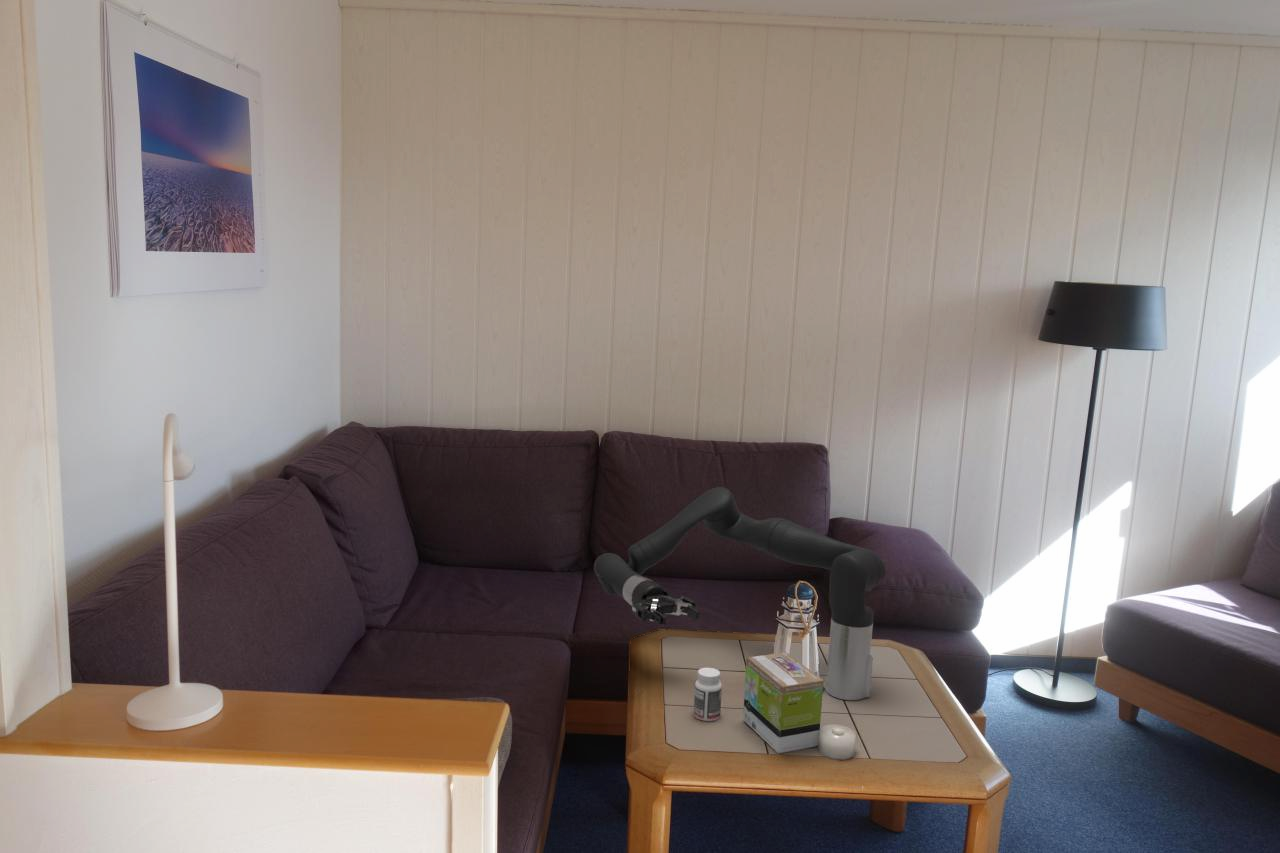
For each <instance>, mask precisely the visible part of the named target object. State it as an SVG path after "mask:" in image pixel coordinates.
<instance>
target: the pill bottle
mask: <svg viewBox="0 0 1280 853" xmlns="http://www.w3.org/2000/svg"><path fill="white" fill-rule="evenodd" d="M697 678H698V679H697V680H696V681H695V684H694V698H693V699H694V700H693V702H694V704H693V715H694V717H695V718H696V719H698V720H699V721H703V722H704V721H705V722H713V721H717V720H718V719H719V718H721V711H722V710H721V708H722V690H723V685H722V682H721V681H720V678H721V672H720V670H718V669H717V668H713V667H701V668H700V669H698V671H697Z"/></svg>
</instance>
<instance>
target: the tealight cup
mask: <svg viewBox="0 0 1280 853" xmlns="http://www.w3.org/2000/svg"><path fill="white" fill-rule="evenodd" d="M856 737H857V736H856V732H855V731H854V729H852V728H850V727H848V726H845V725H841V724H834V723H833V724H826V725H824V726H822V727H820V734H819V745H818V751H819V752H820V754H822V755H824V757H827V758H829V759H833V760H841V761H842V760H848V759H851V758H852V757H854V755H855V748H856V747H855V746H856Z"/></svg>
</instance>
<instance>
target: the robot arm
mask: <svg viewBox="0 0 1280 853" xmlns="http://www.w3.org/2000/svg"><path fill="white" fill-rule="evenodd" d="M702 521H703V522H704V524H705V526H706V528H707V529H708V530H709V531H710V532H711V533H713V534H714V535H716V536H720V537H721V538H726V539H729V540H733V541H737V542H739V543H742V544H746V545H748V546H750V547H752V548H755V549H757V550H760V551H762V552H765V553H766V554H768V555H771V556H772V557H775V558H777V559H780V560H782V561H784V562H787V563H790V564H793V565H799V566H806V567H815V568H821V569H826V570H829V571H830V575H829V591H828V592H829V597H828V598H829V599H828V600H829V601H828V603H829V607H830V610H831V618H830V629H829V630H830V631H829V644H828V655H827V656H828V657H827V658H828V659H827V666H826V667H827V669H826V679H825V692H826V693H828V695H830V696H831V697H834V698H836V699H839V700H844V701H859V700H862V699H864V698H870V695H871V683H872V674H873V664H874V663H873V662H874V658H873V656H872V655H871V649H872V638H873V627H874V616H875V614H874V610H873V609H872V607H870V606H868V605H866V591H869V590H872V589H874V588H876V587H877V586H879V585H880V584H881V583H882V582H883V581H884V579H885V578H886V573H887V572H886V571H887V570H886V565H885V563H884V561H883V560H882V558H881V557H880V556H879V555H878V554H877V553H875V551H873V550H871V549H867V548H866V547H865V548H864V547H862V546H857V545H853V544H850V543H845V542H842V541H839V540H836V539H834V538H831V537H829V536H827V535H824V534H822V533H819V532H817V531H815V530H812V529H809V528H807V527H806V526H805V527H804V526H803V525H800V524H797V523H796V522H792V521H790V520H788V519H786V518H781V517H772V518H767V519H763V520H757V519H754V518H753V517H750V516H748V515H745V514H743V513H742V512H741V511H740V509H739V508H738V504H737V502H736V500H735V497H734V495H733V493H732V492H731V490H729V489H728V488H726V487H725V486H724V487H722V486H717V487H713V488H711V489H708V490H707V491H704V492H703V493H702V494H701V495H699V496H698V497H697V498H696V499H694V500H693V501H692V502H691V503H690V504H689V505H687V506H685V508H683V509H682V510H681V511H680V512H678V514H676V515H675V516H674V517H673V518H671V519H670V520H669V521H668V522H666V523H665V524H664V525H663V526H661V527H660V528H658V529H657V530H655V531H654V532H652V533H651V534H648V535H647V536H645V537H644V538H642V539H641V540H638V541H637V542H635V543H634V544H632V545H631V546H630V547H628V549H627V552H628V553H627V554H628V558H629V562H628V563H627V562H626V560H624V559H623V558H622V557H621V556H620V555H618V554H615V553H611V552H608V553H603V554H600V555H599V556H598V557H597V558H596V559H595V561H594V564H593V570H594V574H595V575H596V576H597V577H596V578H597V579H598V581H599V583H600V585H601V586H602V588H603V590H604V591H605V592H606V593H607V594H608V595H611V596H615V595H617V596H618V597H620V598H621V599H623V601H626V602H627V603H628V604H629V606H631V613H632V614H633V615H634V616H635V617H636V618H638V619H639V621H641V622H647V620H649V621H650V622H655V623H657V624H658V625H660V626H661V627H663V626H666V625H667V616H666V615H674V616H678V617H679V616H681V615H684V616H687V617H689V619H691V620H693V621H699V619H700V611H699V610H698V609H697V605H698V604H697V601H695V600H694V599H691V598H690V597H688V596H686V595H684V594H680V595H679V597H678V598H675V597H672V596H669V594H668V592H667V590H666V589H665V588H664V587H663V586H661V585H659V584H658V583H657V582H655V581H653V580H652V579H650V578H648V577H646V576H643V574H644V573H645V571H647V570H648V569H650V568H651V567H653V566H655V565H657V564H658V563H660V562H662V561H663V560H665V559H667V558H668V557H669V556H670V555H671V554H672V553H673V552H674V551H675V550H676V549H677V547H678V546H679V544H680V543H681V542H682V540H683V539H684V537H685V536H686V535H687V533H688V532H689V531H691V529H692V528H694V527H695V526H696V525H697V524H699V523H700V522H702ZM676 605H677V606H676ZM676 608H677V609H676ZM675 609H676V610H675Z"/></svg>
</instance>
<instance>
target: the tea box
mask: <svg viewBox="0 0 1280 853" xmlns="http://www.w3.org/2000/svg"><path fill="white" fill-rule="evenodd" d="M744 678H745V679H744V680H745V681H744V693H743V694H744V696H743V709H742V710H743V711H742V713H743V715H742V720H743V722H744V723H745V724H747V725H748V726H749V728H751V729H752V730H753V731H754V732H755V733H756V734H758V735H759V737H761V739H762V740H763V741H764V742H766V743H767V745H769V746H770V748H772V749H773V750H774V751H775V752H776V754H782V753H783V754H784V753H787V752H788V753H789V752H794V751H799V750H805V749H810V748H815V747H819V738H820V729H821V718H822V707H823V697H824V679H823V678H821V677H820V676H818V675H817V674H816V673H814V672H813V671H812V670H810V669H809V668H808V667H806V666H805V665H804V664H802V663H801V662H800V661H798V660H797V659H796V658H795V657H793V656H792V655H790V654H789V653H788V652H786V651H782V652H776V653H769V654H763V655H757V656H751V657H749V656H746V662H745V677H744Z"/></svg>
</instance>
